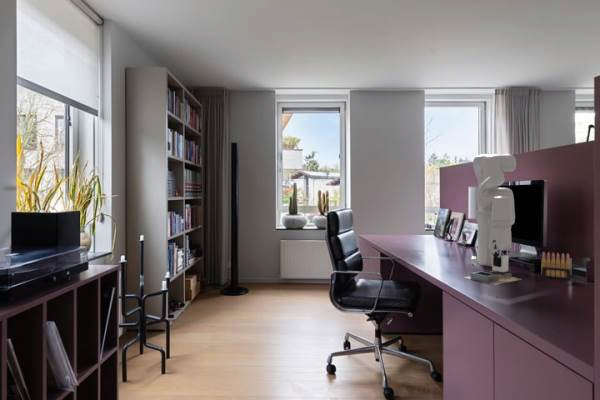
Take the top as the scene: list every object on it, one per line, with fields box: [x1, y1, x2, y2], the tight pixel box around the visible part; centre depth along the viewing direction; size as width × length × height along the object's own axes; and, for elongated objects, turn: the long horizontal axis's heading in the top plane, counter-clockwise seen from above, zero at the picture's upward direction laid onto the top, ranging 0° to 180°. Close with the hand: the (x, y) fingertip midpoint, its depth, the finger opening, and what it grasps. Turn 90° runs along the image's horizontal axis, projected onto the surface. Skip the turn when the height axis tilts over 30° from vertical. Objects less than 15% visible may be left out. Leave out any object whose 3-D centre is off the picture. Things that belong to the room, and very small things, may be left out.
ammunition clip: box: [540, 251, 572, 281], centre depth 150 cm, size 11×2×12 cm, turn 62°
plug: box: [491, 252, 510, 273], centre depth 147 cm, size 4×4×8 cm
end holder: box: [469, 270, 500, 284], centre depth 140 cm, size 8×8×2 cm
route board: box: [463, 270, 523, 286], centre depth 143 cm, size 14×20×4 cm
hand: (500, 265), depth 147 cm, fingers closed on plug, 4 cm apart
